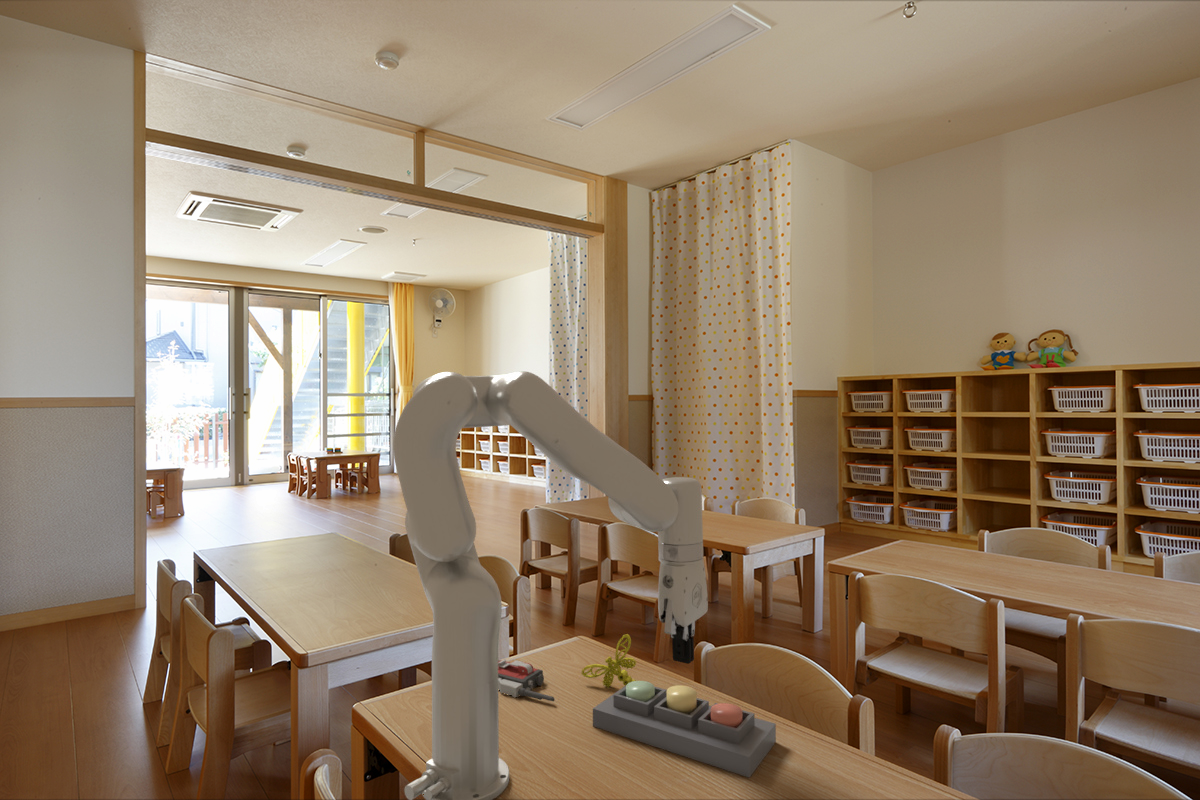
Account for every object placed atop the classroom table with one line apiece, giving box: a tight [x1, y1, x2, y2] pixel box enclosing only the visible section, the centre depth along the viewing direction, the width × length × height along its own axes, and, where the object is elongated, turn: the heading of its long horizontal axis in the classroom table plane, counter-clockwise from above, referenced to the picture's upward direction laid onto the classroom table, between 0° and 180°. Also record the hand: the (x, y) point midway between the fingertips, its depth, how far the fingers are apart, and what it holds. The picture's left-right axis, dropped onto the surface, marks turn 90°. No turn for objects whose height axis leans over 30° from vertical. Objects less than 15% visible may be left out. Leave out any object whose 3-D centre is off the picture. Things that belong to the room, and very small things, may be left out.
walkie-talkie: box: [498, 659, 555, 702], centre depth 125 cm, size 9×4×20 cm
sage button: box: [626, 680, 656, 702], centre depth 111 cm, size 5×5×2 cm
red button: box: [711, 702, 743, 728], centre depth 102 cm, size 5×5×2 cm
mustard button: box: [666, 684, 698, 714], centre depth 106 cm, size 5×5×2 cm
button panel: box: [592, 685, 777, 778], centre depth 106 cm, size 12×28×5 cm, turn 56°
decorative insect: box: [581, 633, 639, 689], centre depth 125 cm, size 13×3×10 cm
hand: (683, 660), depth 107 cm, fingers closed
